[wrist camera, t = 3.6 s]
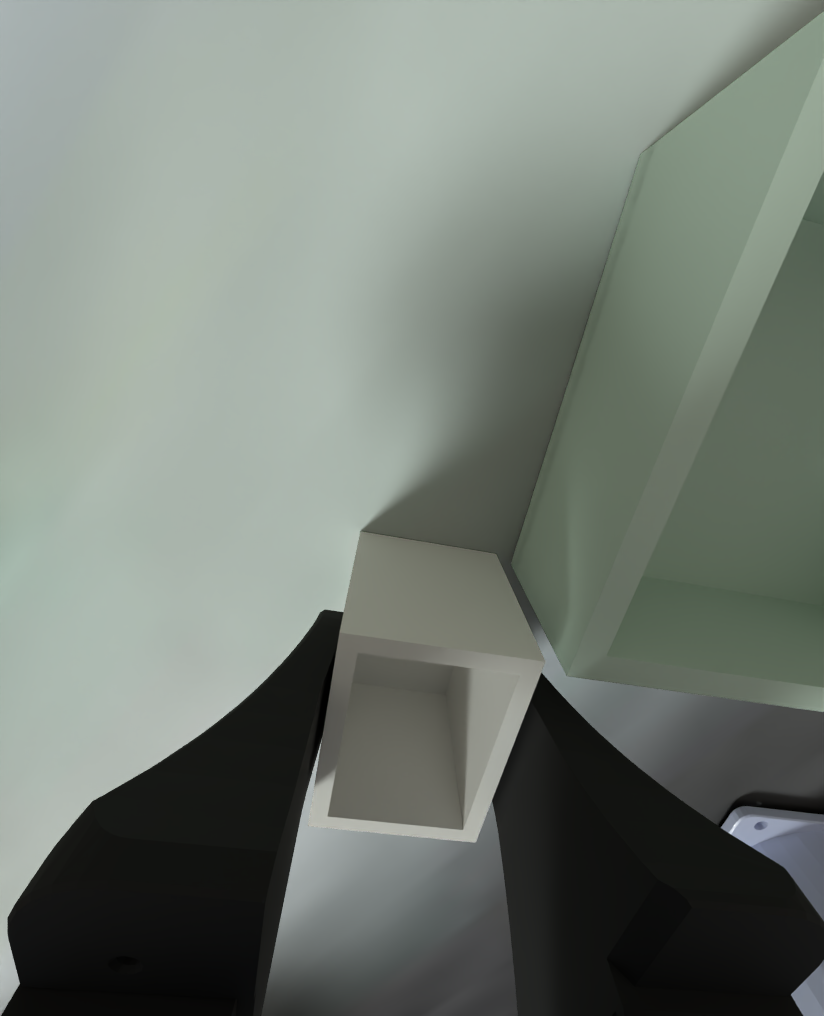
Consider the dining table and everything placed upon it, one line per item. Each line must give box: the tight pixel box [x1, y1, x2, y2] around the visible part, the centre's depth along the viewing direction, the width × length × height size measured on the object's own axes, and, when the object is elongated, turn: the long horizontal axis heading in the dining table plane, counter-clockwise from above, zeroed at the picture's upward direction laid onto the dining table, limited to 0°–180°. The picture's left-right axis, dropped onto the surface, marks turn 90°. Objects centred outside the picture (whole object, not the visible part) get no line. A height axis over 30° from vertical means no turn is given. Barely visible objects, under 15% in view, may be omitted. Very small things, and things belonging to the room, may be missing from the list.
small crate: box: [308, 531, 545, 843], centre depth 11 cm, size 4×6×4 cm
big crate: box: [511, 11, 824, 712], centre depth 9 cm, size 10×10×4 cm
